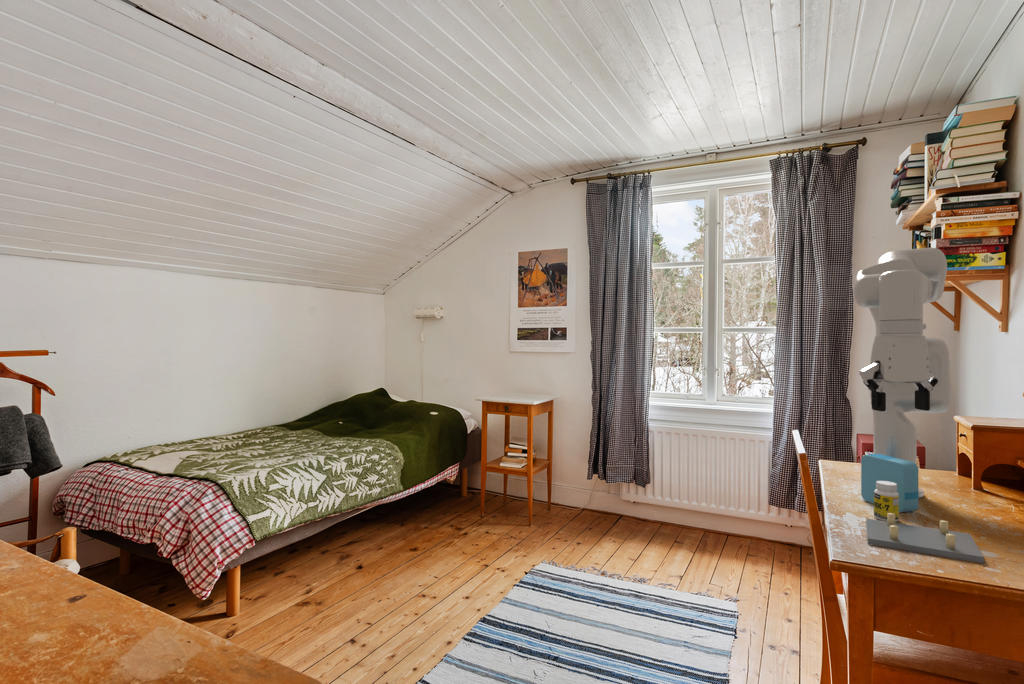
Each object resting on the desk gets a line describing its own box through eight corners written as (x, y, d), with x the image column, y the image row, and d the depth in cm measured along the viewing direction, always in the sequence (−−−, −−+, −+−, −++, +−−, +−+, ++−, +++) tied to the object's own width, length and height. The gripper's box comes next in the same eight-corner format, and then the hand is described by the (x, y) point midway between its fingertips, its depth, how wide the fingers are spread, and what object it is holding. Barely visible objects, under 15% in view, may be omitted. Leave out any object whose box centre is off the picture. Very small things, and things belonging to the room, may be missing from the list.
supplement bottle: (869, 517, 126) (869, 481, 126) (882, 514, 128) (882, 479, 128) (890, 523, 122) (890, 486, 121) (903, 520, 123) (903, 484, 123)
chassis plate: (866, 523, 121) (866, 507, 121) (969, 539, 112) (969, 521, 112) (867, 543, 110) (867, 525, 110) (983, 563, 100) (983, 543, 100)
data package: (919, 512, 129) (919, 462, 129) (903, 514, 128) (903, 464, 128) (875, 498, 141) (875, 452, 141) (860, 499, 140) (860, 453, 140)
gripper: (924, 329, 118) (924, 407, 118) (849, 329, 116) (849, 408, 117) (955, 328, 110) (954, 412, 110) (874, 329, 109) (874, 413, 109)
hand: (900, 410), depth 113 cm, fingers open, 9 cm apart
